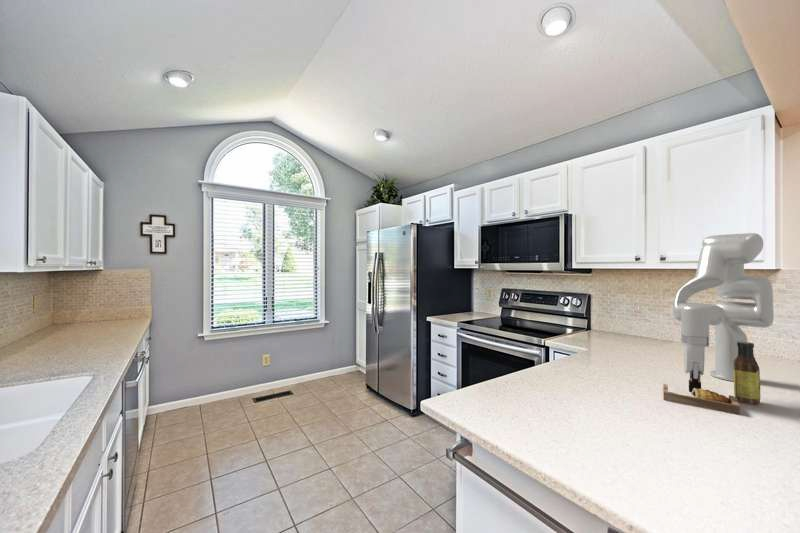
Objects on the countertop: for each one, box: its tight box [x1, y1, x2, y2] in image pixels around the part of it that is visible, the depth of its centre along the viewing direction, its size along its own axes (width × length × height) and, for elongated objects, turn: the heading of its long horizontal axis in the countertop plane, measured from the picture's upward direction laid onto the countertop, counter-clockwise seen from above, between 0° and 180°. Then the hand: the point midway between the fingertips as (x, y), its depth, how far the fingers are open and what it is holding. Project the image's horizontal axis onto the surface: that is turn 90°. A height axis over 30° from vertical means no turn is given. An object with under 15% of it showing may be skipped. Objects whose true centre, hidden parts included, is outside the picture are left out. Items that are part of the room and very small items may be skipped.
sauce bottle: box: [733, 341, 761, 405], centre depth 114 cm, size 7×6×20 cm
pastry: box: [691, 388, 730, 404], centre depth 113 cm, size 9×7×4 cm
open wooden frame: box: [662, 383, 741, 415], centre depth 113 cm, size 11×18×2 cm, turn 52°
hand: (694, 392), depth 119 cm, fingers closed
